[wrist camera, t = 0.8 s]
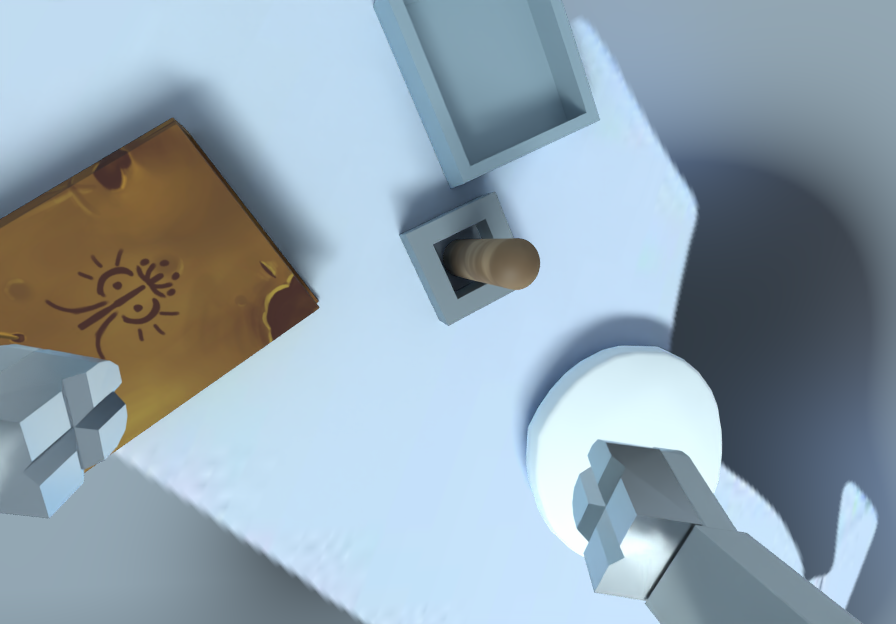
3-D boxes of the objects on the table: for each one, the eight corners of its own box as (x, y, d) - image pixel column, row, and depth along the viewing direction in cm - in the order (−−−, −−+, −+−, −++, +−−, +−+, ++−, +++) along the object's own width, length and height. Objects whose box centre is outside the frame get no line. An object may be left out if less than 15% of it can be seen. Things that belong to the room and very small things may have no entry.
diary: (188, 131, 40) (169, 113, 34) (318, 300, 45) (319, 307, 40) (-63, 281, 36) (-129, 287, 31) (110, 445, 41) (80, 475, 36)
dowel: (436, 249, 47) (485, 252, 34) (469, 232, 48) (529, 229, 35) (451, 282, 48) (504, 298, 35) (483, 266, 49) (547, 276, 36)
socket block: (399, 234, 46) (405, 234, 42) (482, 195, 48) (495, 191, 44) (439, 320, 48) (448, 325, 45) (516, 279, 50) (531, 281, 47)
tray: (373, 6, 42) (380, -20, 38) (516, -46, 45) (537, -76, 41) (450, 188, 47) (464, 183, 42) (575, 130, 50) (600, 119, 45)
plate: (496, 437, 47) (681, 302, 52) (477, 419, 54) (643, 300, 58) (614, 626, 52) (773, 488, 57) (584, 589, 59) (730, 468, 63)
